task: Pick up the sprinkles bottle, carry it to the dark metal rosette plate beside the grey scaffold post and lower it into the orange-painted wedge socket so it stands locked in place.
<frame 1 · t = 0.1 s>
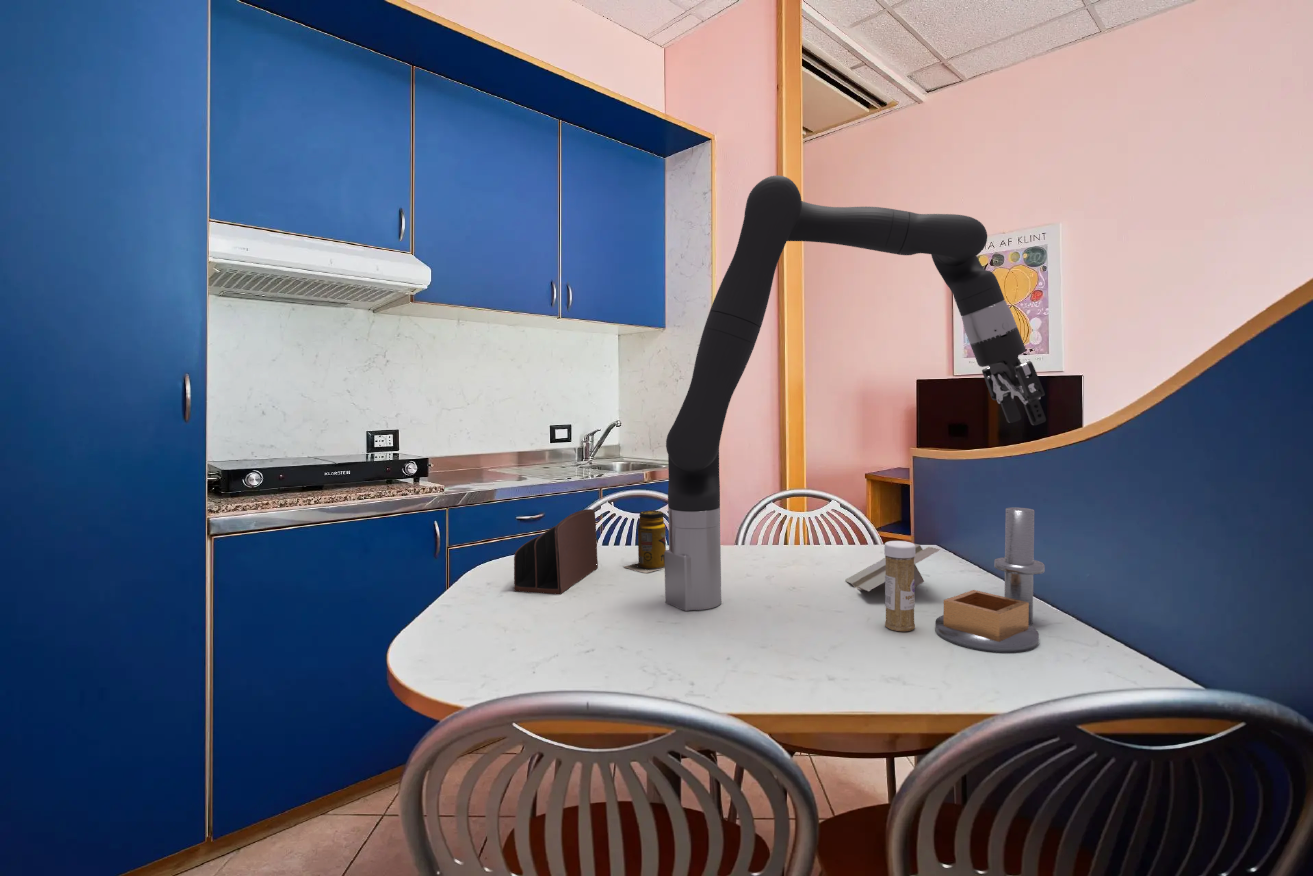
hand: (1026, 422, 113), 31 cm above the table, tool tilted 20°, fingers open, 8 cm apart
rosette socket: (985, 635, 101), on the table
condiment: (649, 568, 145), on the table
letter holder: (558, 581, 137), on the table
sprinkles bottle: (899, 628, 105), on the table
tilted grey ramp: (889, 592, 125), on the table
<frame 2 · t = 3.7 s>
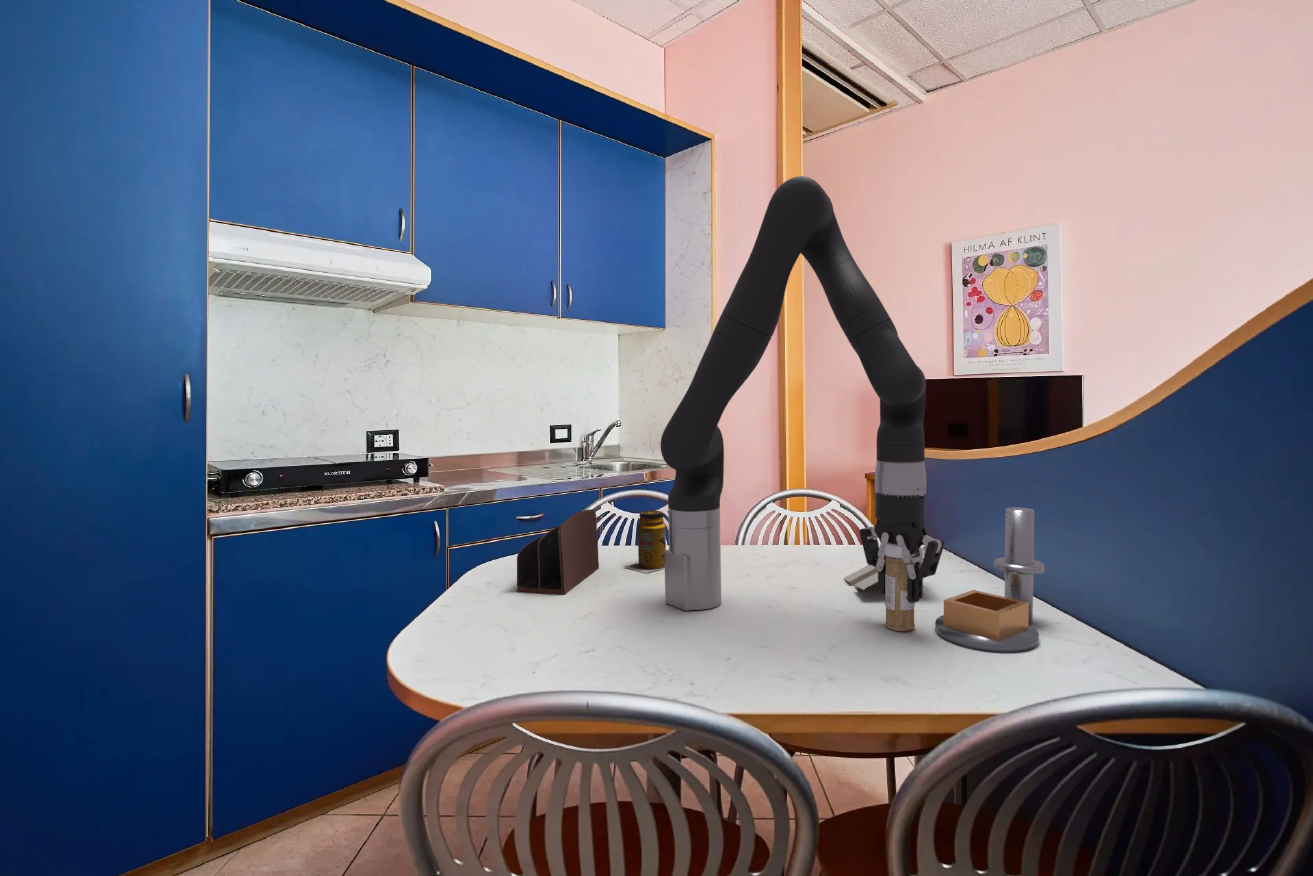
hand: (899, 597, 104), 5 cm above the table, tool pointing down, fingers closed on sprinkles bottle, 4 cm apart
sprinkles bottle: (899, 628, 105), on the table, touching gripper
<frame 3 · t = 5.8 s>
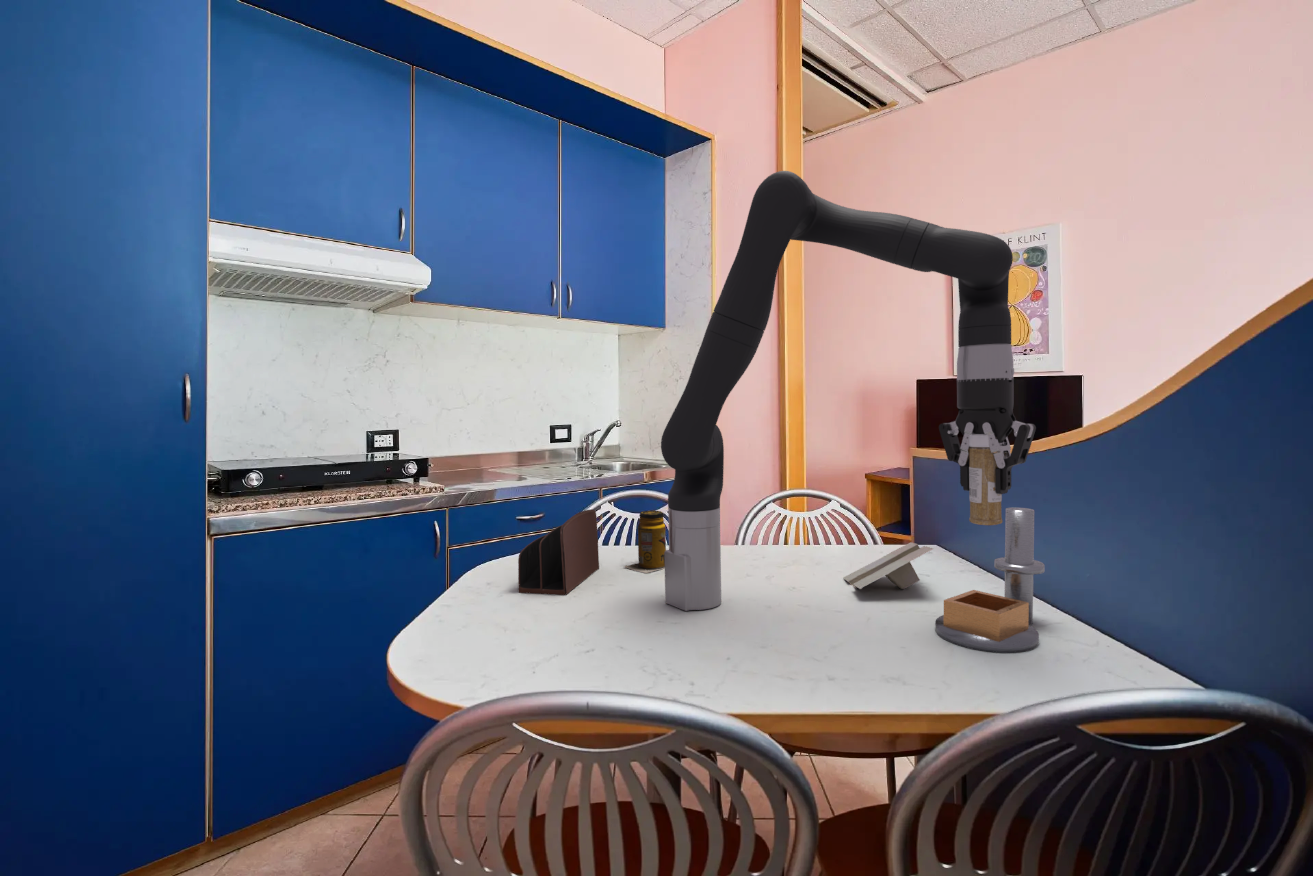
hand: (985, 491, 99), 22 cm above the table, tool pointing down, fingers closed on sprinkles bottle, 4 cm apart
sprinkles bottle: (985, 524, 100), point 17 cm above the table, touching gripper
when the fingers open (8 cm above the table, at t = 8.7 s): sprinkles bottle drops 2 cm, resting on rosette socket.
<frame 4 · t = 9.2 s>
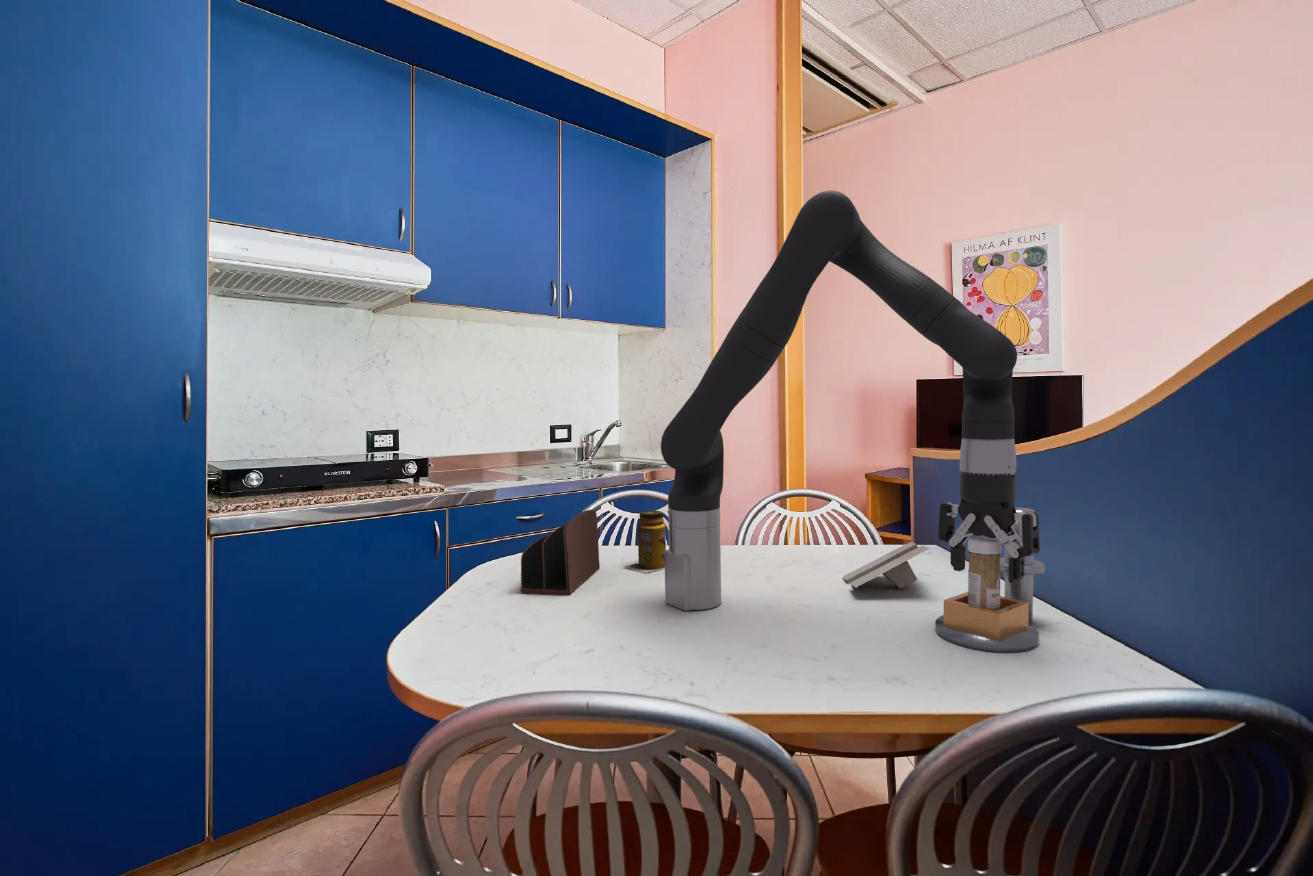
hand: (986, 576, 100), 9 cm above the table, tool pointing down, fingers open, 8 cm apart
sprinkles bottle: (983, 628, 101), point 1 cm above the table, touching rosette socket
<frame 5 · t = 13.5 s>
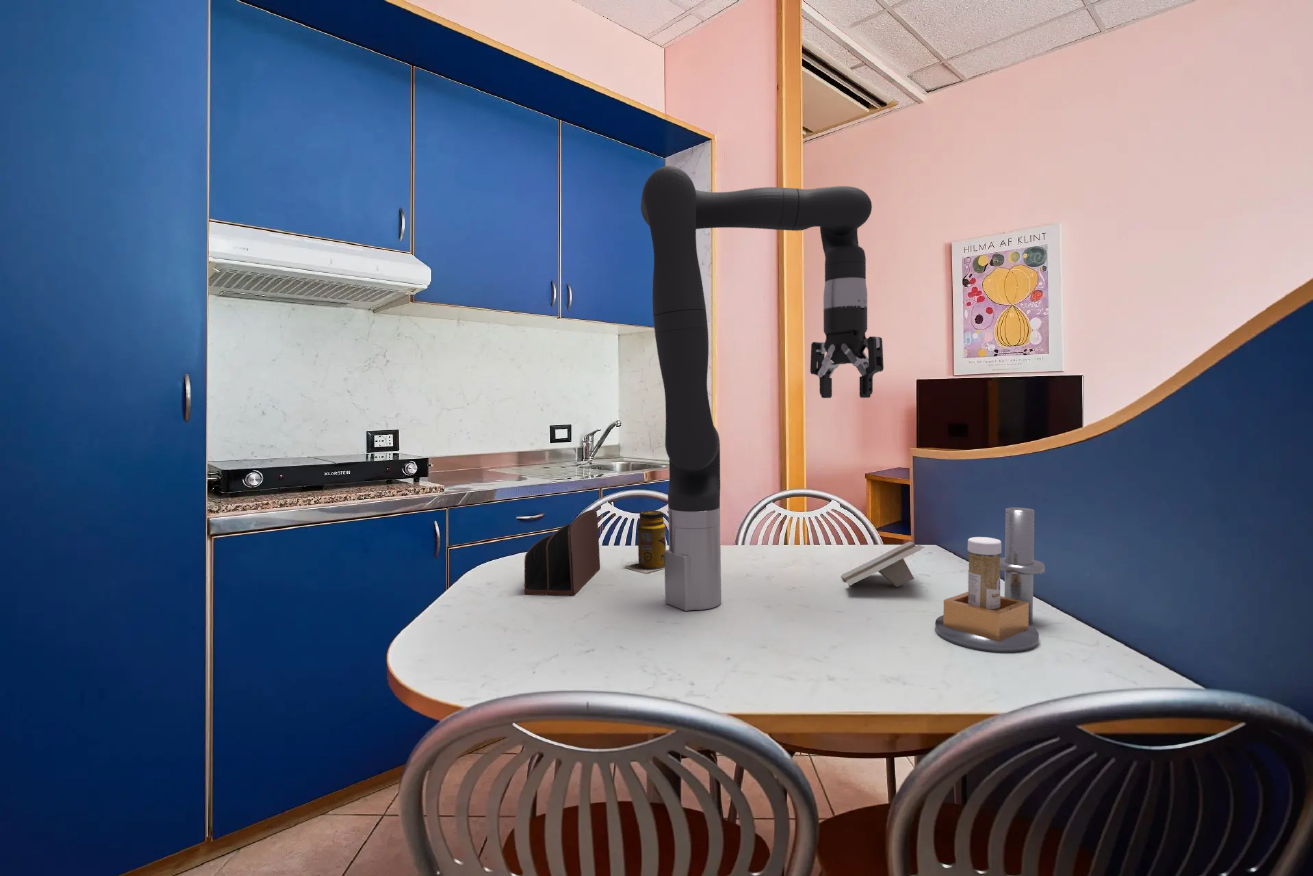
hand: (845, 397, 120), 36 cm above the table, tool pointing down, fingers open, 8 cm apart
at the end: sprinkles bottle 0.2 cm off-centre on the rosette socket, point 1.0 cm above the rosette socket's base; sprinkles bottle tilted 0°; the gripper is holding nothing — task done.
